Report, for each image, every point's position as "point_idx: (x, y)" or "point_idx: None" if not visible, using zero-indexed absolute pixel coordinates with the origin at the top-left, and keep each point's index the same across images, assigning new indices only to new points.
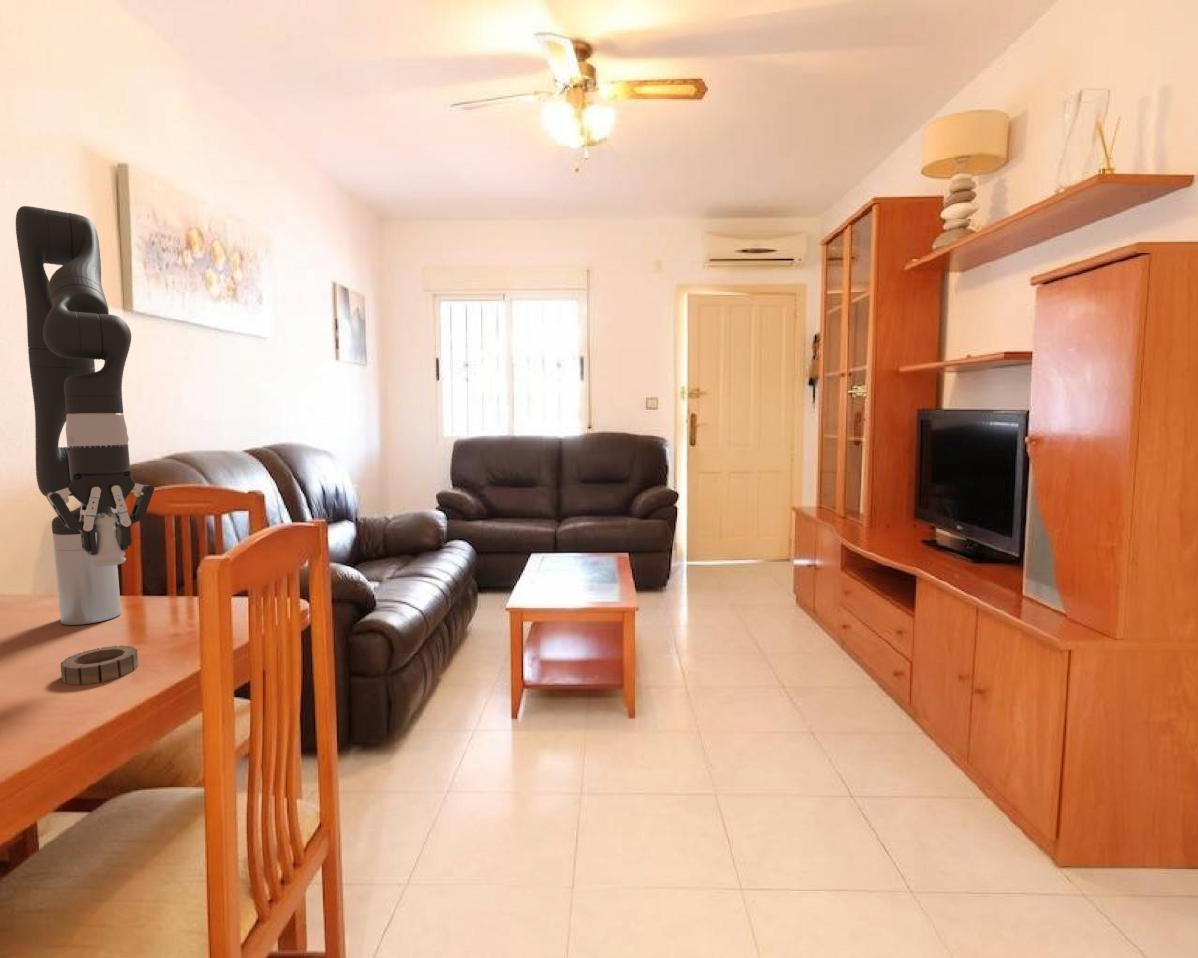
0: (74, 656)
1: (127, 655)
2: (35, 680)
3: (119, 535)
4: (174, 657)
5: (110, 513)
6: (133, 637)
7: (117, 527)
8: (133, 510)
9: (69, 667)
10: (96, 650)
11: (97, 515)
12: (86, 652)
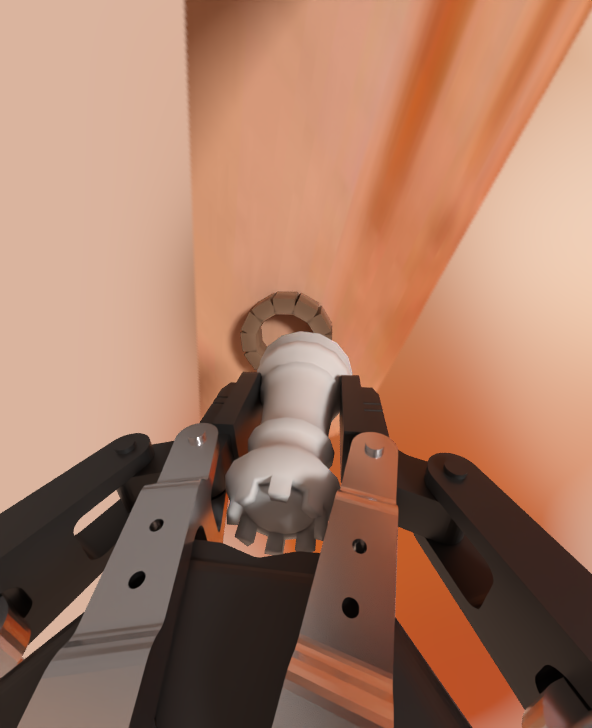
0: (259, 313)
1: None
2: (221, 294)
3: (341, 429)
4: (375, 353)
5: (310, 515)
6: (386, 164)
7: (343, 439)
8: (458, 522)
9: (247, 357)
10: (288, 309)
11: (236, 535)
12: (275, 306)
